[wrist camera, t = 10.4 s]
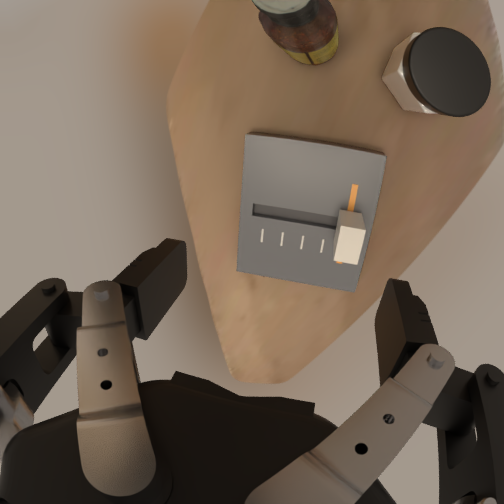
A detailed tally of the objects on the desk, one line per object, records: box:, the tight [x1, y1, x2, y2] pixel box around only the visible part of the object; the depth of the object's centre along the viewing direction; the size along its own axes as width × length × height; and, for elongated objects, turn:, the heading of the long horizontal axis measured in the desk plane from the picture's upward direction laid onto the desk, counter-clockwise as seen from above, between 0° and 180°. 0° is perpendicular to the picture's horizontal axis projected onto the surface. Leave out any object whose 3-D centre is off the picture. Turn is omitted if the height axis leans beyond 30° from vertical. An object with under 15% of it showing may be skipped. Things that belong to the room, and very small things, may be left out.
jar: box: [382, 27, 491, 117], centre depth 24 cm, size 9×8×12 cm
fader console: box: [237, 132, 387, 292], centre depth 38 cm, size 18×16×3 cm
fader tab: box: [334, 210, 366, 265], centre depth 34 cm, size 4×3×6 cm, turn 176°
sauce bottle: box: [252, 0, 338, 65], centre depth 22 cm, size 7×6×20 cm
